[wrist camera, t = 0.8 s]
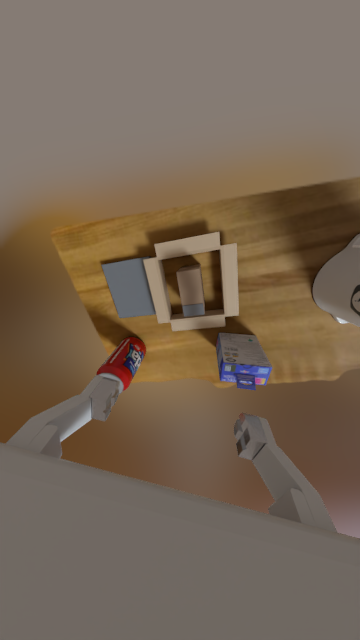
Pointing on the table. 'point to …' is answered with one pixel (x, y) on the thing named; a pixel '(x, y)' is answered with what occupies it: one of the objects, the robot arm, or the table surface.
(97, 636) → the robot arm
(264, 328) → the table surface
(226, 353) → the ink cartridge box
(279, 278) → the table surface
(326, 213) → the table surface
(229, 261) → the beige hollow square frame
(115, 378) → the soda can
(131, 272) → the mat
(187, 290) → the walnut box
